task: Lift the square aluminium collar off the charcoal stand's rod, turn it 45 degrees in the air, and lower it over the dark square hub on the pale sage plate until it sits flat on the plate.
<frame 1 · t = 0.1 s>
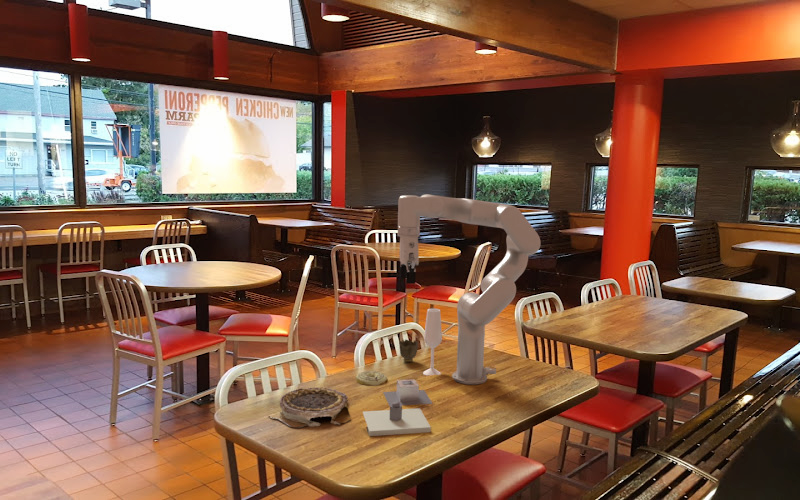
hand: (407, 280, 212), 37 cm above the table, tool pointing down, fingers open, 9 cm apart
collar: (407, 397, 199), point 1 cm above the table, touching rod stand
hub plate: (395, 423, 182), on the table
cup: (408, 362, 240), on the table
decorated donut: (371, 385, 215), on the table
rod stand: (407, 402, 199), on the table
champagne flute: (431, 373, 228), on the table
pie: (314, 412, 192), on the table
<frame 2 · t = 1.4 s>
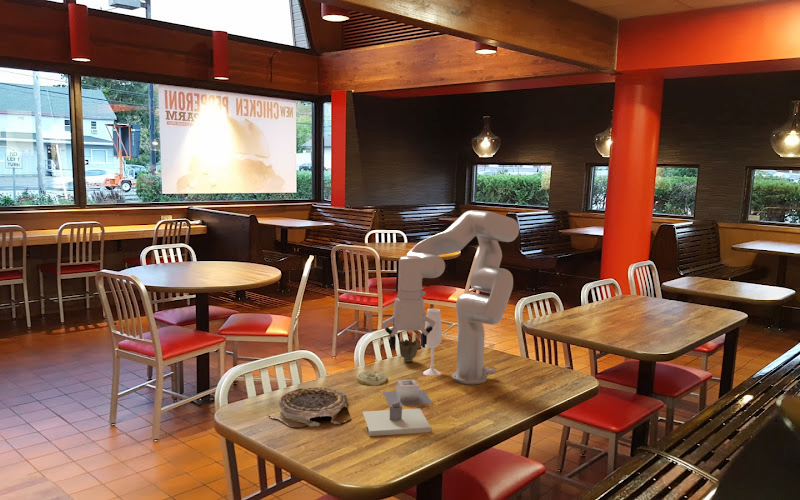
hand: (408, 347, 197), 18 cm above the table, tool pointing down, fingers open, 9 cm apart
nothing on the table moved.
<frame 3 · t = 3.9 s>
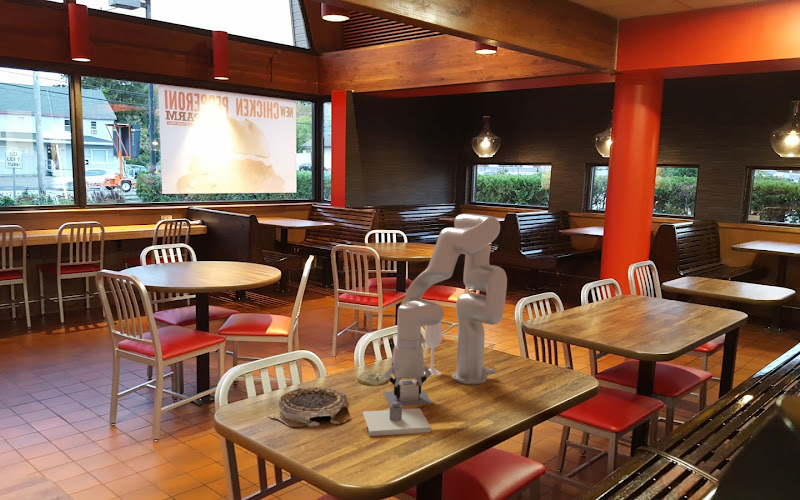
hand: (407, 395, 199), 2 cm above the table, tool pointing down, fingers closed on collar, 6 cm apart
collar: (407, 397, 199), point 1 cm above the table, touching gripper, rod stand
everything else where it was.
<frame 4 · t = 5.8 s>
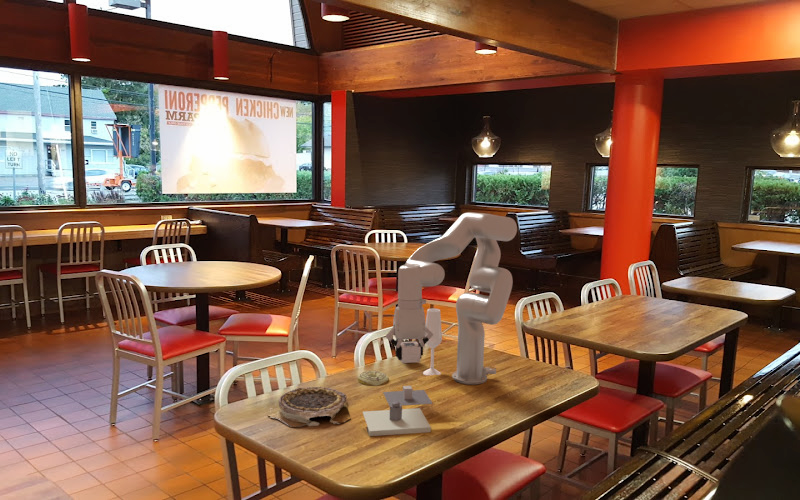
hand: (409, 357, 198), 15 cm above the table, tool pointing down, fingers closed on collar, 6 cm apart
collar: (409, 359, 198), point 14 cm above the table, touching gripper
everything else where it was.
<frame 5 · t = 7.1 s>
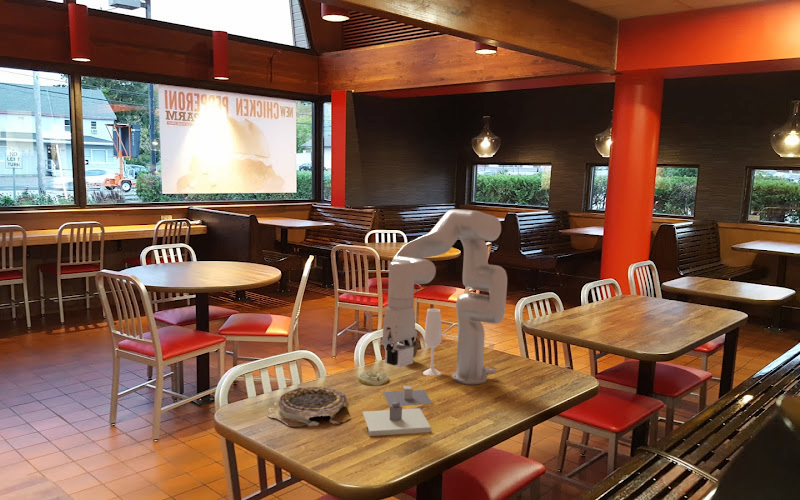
hand: (399, 361, 183), 18 cm above the table, tool pointing down, fingers closed on collar, 6 cm apart
collar: (398, 362, 184), point 18 cm above the table, touching gripper
everything else where it was.
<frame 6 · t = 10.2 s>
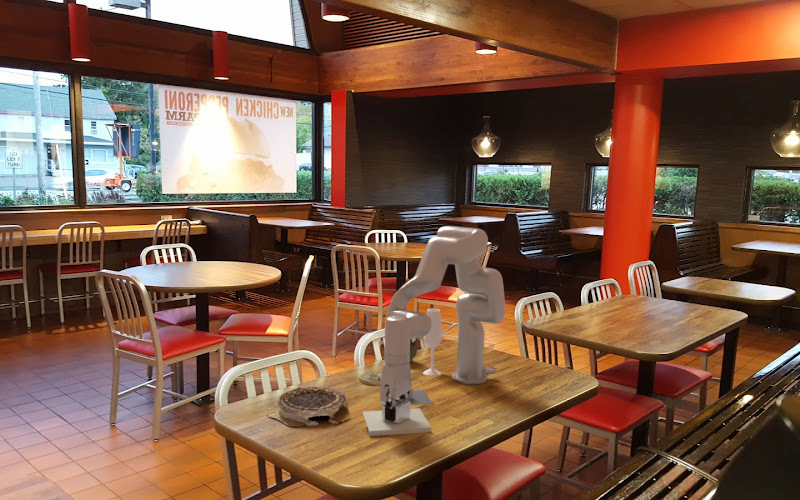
hand: (395, 415, 182), 2 cm above the table, tool pointing down, fingers closed on collar, 5 cm apart
collar: (395, 417, 182), point 2 cm above the table, touching gripper
everything else where it was.
when the fingers open (2 cm above the table, at t = 10.4 s): collar stays where it is, resting on hub plate.
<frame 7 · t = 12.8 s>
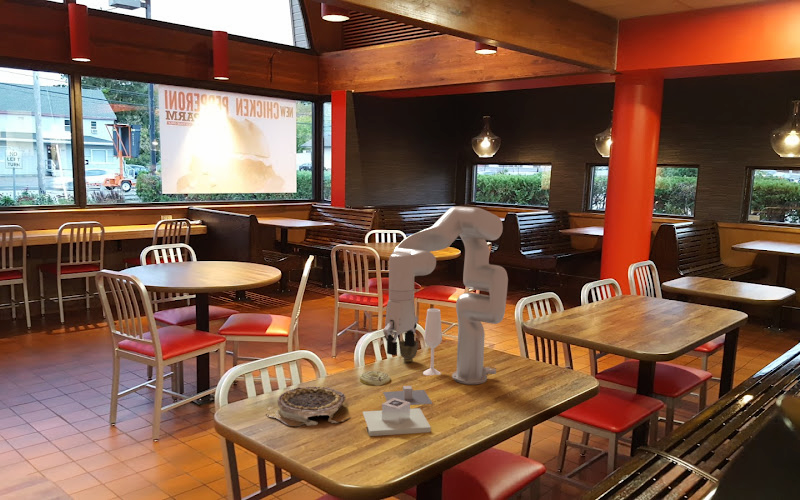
hand: (400, 350, 184), 21 cm above the table, tool pointing down, fingers open, 9 cm apart
collar: (395, 419, 182), point 1 cm above the table, touching hub plate
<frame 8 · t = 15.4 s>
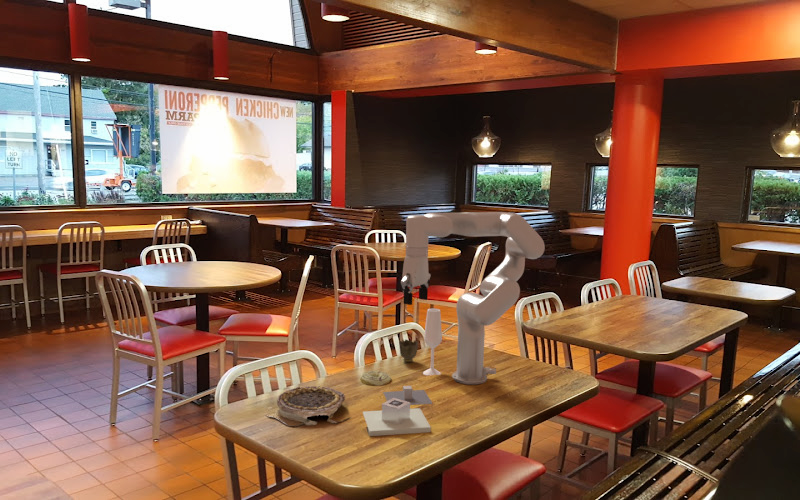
hand: (415, 301, 209), 30 cm above the table, tool pointing down, fingers open, 9 cm apart
at the end: collar 0.0 cm off-centre on the hub plate, point 1.5 cm above the hub plate's base; collar tilted 0°; the gripper is holding nothing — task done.
